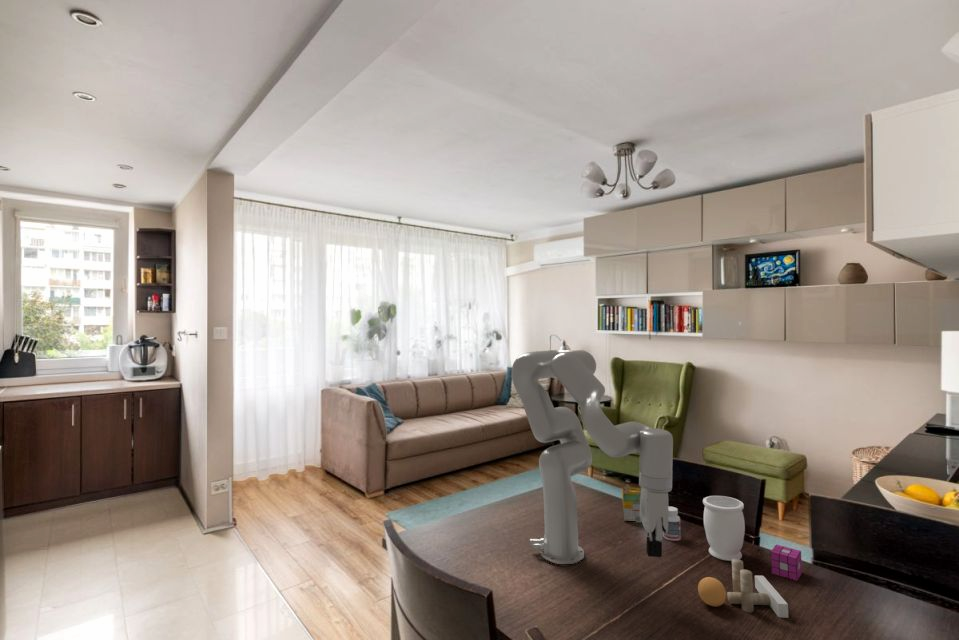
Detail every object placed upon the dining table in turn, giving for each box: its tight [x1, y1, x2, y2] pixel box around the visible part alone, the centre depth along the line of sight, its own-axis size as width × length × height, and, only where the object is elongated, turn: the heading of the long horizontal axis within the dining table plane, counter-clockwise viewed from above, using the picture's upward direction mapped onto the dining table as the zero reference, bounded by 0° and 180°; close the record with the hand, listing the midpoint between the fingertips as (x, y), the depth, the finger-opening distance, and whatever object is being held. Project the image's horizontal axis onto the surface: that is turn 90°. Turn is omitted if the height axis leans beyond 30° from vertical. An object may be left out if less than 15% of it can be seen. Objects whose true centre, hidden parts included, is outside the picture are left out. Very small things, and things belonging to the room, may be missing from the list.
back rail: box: [754, 575, 789, 619], centre depth 110 cm, size 2×12×3 cm, turn 172°
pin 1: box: [731, 559, 744, 592], centre depth 113 cm, size 2×2×8 cm
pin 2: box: [740, 568, 755, 613], centre depth 108 cm, size 2×2×8 cm
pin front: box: [726, 591, 770, 606], centre depth 110 cm, size 2×2×8 cm
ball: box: [697, 576, 727, 608], centre depth 110 cm, size 6×6×6 cm
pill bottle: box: [662, 505, 682, 542], centre depth 145 cm, size 5×5×9 cm
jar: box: [702, 495, 746, 562], centre depth 133 cm, size 11×10×15 cm
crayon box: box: [621, 486, 642, 523], centre depth 158 cm, size 7×3×12 cm, turn 77°
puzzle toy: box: [770, 544, 803, 582], centre depth 122 cm, size 6×6×6 cm
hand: (653, 554), depth 114 cm, fingers closed
